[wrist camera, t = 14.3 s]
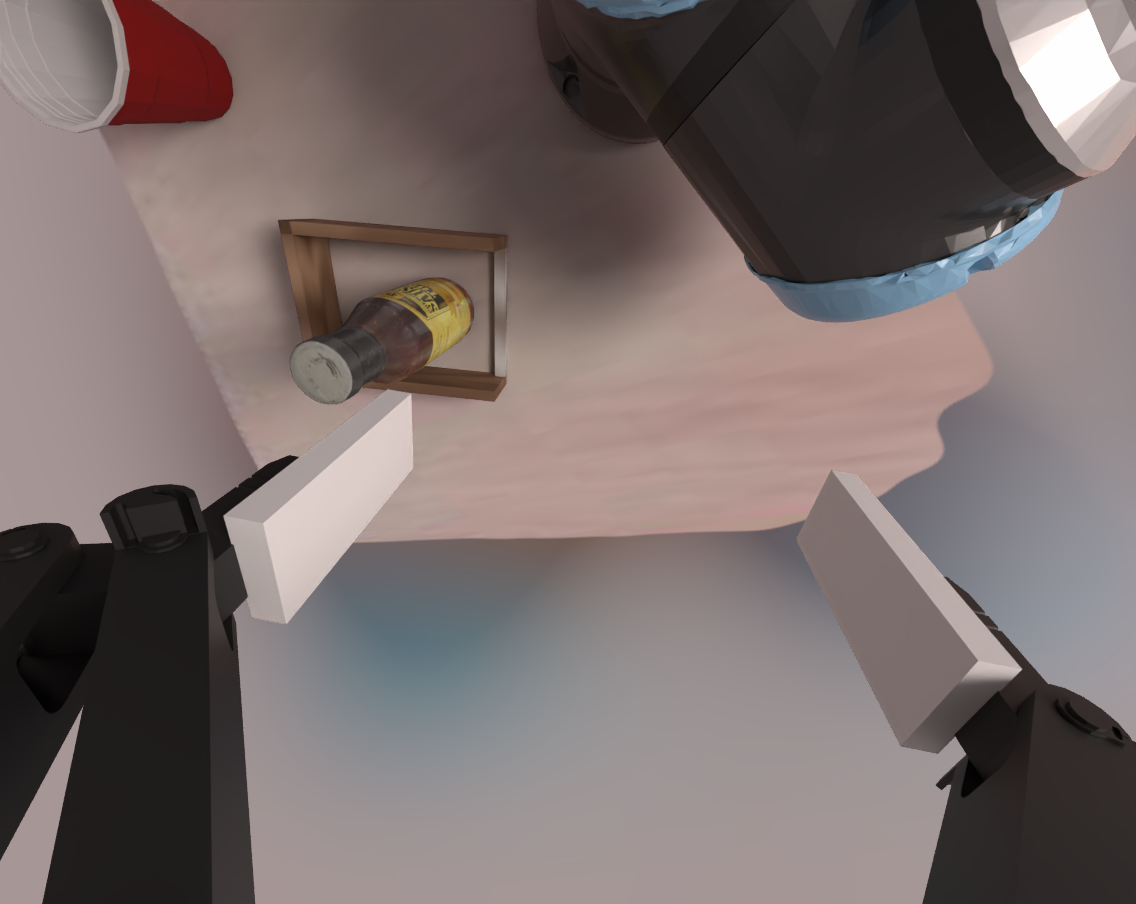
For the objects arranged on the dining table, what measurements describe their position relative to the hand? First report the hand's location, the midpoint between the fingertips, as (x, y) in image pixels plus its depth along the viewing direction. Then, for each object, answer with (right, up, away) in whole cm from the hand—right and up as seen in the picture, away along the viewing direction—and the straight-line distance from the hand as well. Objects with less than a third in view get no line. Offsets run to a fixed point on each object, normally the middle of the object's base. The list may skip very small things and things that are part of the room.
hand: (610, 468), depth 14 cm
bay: (-16, +15, +30) cm, 37 cm away
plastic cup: (-32, +32, +23) cm, 51 cm away
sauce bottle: (-13, +15, +30) cm, 36 cm away
